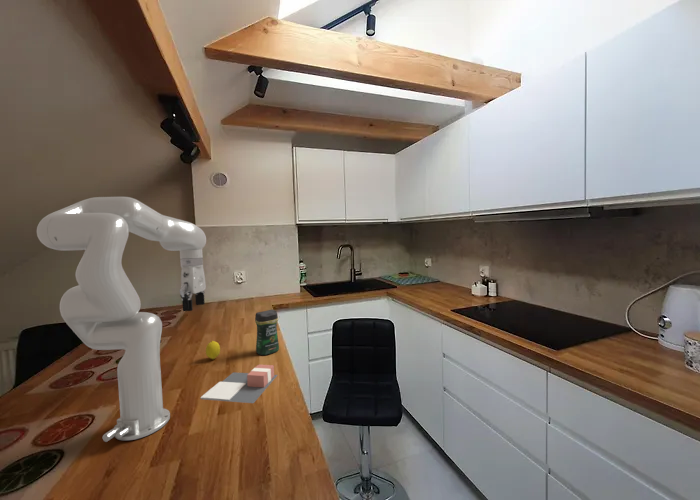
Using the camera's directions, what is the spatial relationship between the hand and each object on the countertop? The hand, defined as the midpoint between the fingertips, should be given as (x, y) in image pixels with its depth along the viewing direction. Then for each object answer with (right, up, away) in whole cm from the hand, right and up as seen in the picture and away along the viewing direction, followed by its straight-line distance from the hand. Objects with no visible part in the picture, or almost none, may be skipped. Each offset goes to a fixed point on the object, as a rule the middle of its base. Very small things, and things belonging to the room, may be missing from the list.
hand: (194, 307), depth 110 cm
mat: (+23, -25, -11) cm, 36 cm away
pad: (+18, -26, -14) cm, 34 cm away
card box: (+28, -24, -8) cm, 38 cm away
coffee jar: (+23, -24, +19) cm, 38 cm away
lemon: (+1, -25, +13) cm, 28 cm away
